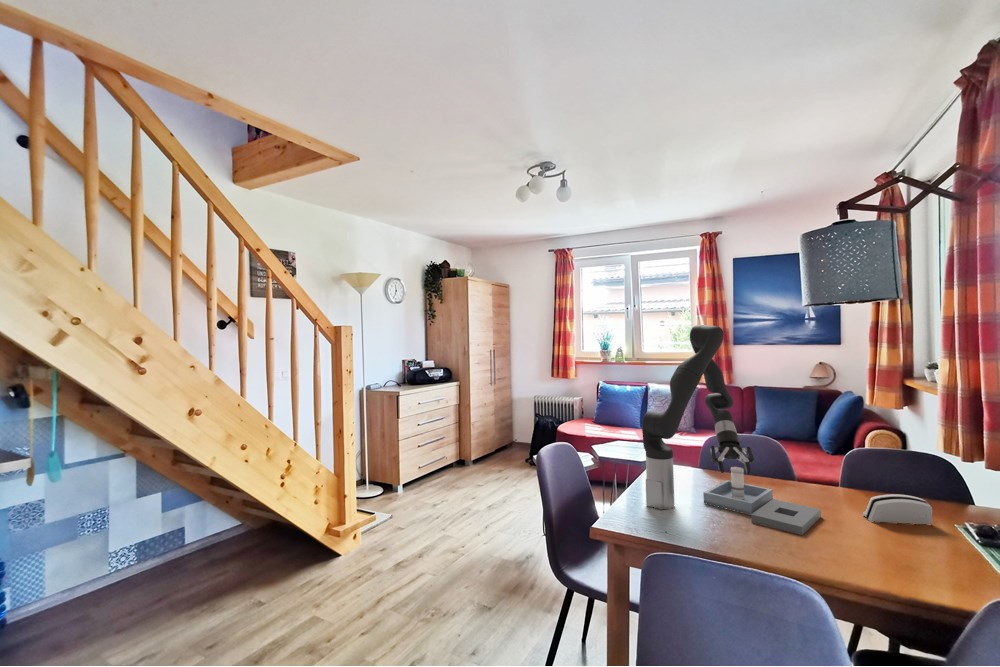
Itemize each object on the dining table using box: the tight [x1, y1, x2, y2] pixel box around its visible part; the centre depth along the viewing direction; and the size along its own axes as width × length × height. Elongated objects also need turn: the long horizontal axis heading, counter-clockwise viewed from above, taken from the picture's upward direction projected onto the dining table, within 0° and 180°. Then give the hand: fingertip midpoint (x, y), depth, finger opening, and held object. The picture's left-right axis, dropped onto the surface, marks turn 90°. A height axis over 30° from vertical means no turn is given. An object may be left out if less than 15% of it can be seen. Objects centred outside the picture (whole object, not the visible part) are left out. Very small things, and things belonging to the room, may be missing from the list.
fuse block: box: [750, 498, 822, 536], centre depth 147 cm, size 20×14×2 cm
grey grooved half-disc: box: [862, 493, 933, 525], centre depth 144 cm, size 17×5×10 cm, turn 77°
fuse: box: [730, 466, 745, 500], centre depth 164 cm, size 4×4×11 cm
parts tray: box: [702, 479, 774, 516], centre depth 164 cm, size 20×16×4 cm
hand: (735, 472), depth 168 cm, fingers open, 8 cm apart
